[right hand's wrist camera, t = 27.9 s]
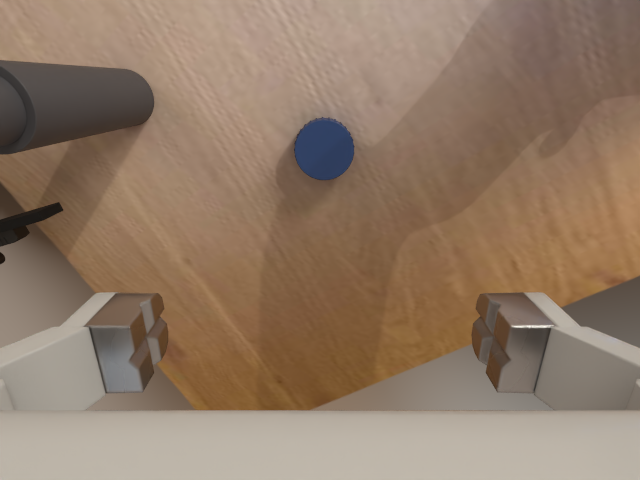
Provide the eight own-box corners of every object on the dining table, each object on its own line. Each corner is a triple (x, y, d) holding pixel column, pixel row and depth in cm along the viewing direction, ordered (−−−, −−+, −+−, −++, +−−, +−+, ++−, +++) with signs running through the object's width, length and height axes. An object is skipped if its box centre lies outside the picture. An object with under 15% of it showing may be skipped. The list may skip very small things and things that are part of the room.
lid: (335, 184, 38) (336, 191, 36) (285, 159, 37) (283, 163, 35) (363, 134, 37) (365, 138, 34) (311, 106, 36) (311, 107, 33)
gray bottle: (96, 67, 34) (-116, 53, 18) (150, 70, 35) (-9, 58, 18) (104, 124, 36) (-81, 159, 19) (156, 126, 36) (16, 163, 20)
